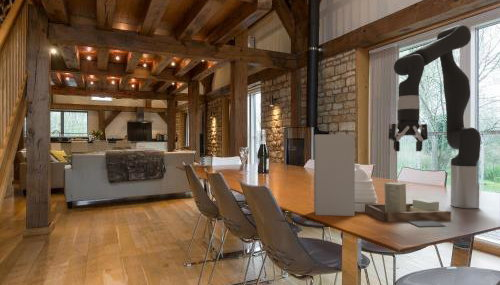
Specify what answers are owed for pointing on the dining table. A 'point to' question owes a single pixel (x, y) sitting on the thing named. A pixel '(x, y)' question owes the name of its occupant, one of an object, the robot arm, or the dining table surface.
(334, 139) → the tall grey box
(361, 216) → the dining table surface
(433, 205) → the offcut upper
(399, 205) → the skincare box
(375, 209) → the rack
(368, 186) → the honey pot
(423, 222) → the felt mat
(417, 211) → the offcut lower
